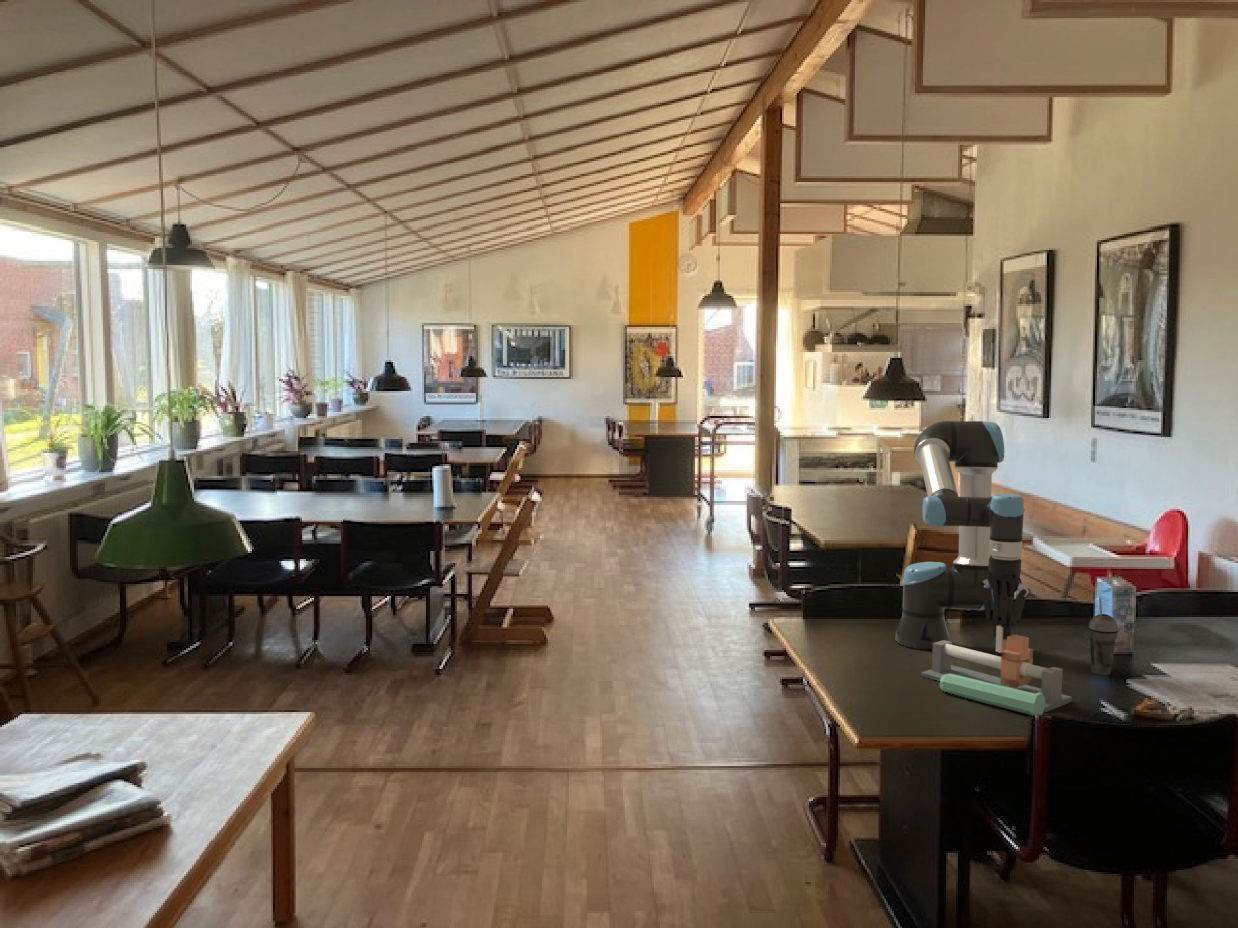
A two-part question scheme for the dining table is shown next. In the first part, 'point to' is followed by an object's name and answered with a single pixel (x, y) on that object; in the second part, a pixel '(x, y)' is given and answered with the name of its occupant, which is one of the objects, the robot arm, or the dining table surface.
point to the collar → (1015, 661)
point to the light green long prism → (993, 694)
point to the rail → (994, 681)
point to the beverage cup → (1102, 642)
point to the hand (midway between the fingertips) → (1001, 651)
